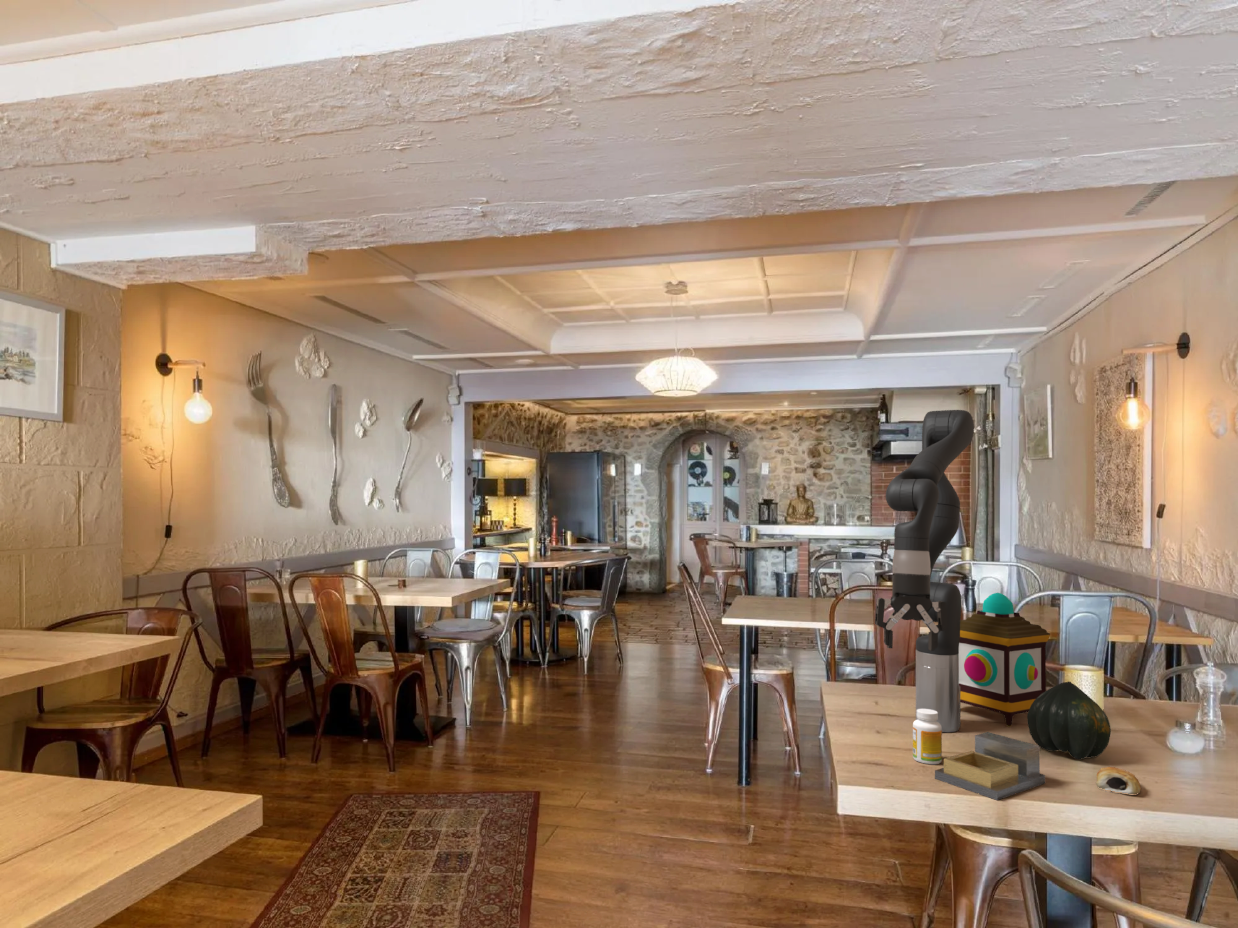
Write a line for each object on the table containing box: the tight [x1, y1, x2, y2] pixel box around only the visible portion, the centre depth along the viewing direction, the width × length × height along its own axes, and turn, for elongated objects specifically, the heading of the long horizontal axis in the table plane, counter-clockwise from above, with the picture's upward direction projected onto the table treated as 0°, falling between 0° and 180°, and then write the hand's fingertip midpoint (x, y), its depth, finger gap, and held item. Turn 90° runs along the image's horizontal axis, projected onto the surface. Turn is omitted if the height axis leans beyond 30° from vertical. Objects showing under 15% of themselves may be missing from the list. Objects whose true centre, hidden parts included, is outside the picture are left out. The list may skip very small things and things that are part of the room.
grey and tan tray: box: [934, 731, 1046, 801], centre depth 140 cm, size 16×12×6 cm
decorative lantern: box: [959, 592, 1051, 728], centre depth 187 cm, size 20×20×30 cm
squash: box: [1026, 680, 1112, 760], centre depth 158 cm, size 14×15×15 cm
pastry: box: [1095, 766, 1142, 795], centre depth 139 cm, size 9×7×4 cm
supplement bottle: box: [912, 709, 943, 765], centre depth 151 cm, size 5×5×10 cm
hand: (910, 649), depth 159 cm, fingers open, 8 cm apart
